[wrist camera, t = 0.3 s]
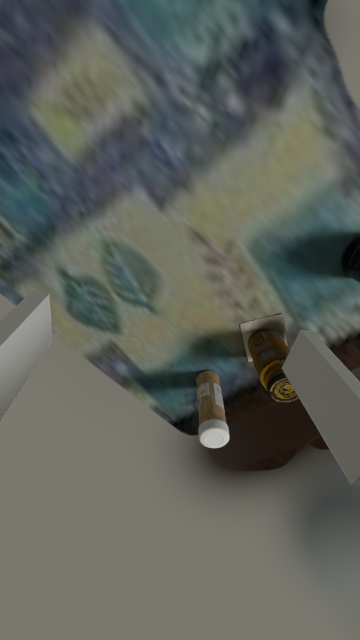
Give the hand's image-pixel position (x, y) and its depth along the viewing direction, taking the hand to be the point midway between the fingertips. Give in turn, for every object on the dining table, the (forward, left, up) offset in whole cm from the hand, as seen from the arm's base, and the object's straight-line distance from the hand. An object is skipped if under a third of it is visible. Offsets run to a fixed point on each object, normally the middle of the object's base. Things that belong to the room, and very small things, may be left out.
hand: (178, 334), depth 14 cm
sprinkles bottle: (+23, +13, -27) cm, 38 cm away
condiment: (+11, +19, -28) cm, 36 cm away
